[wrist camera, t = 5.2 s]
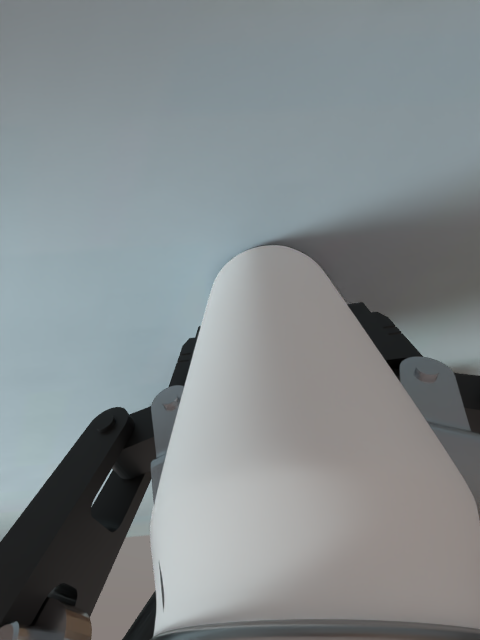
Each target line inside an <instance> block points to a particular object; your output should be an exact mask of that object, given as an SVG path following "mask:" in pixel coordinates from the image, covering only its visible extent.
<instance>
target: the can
mask: <svg viewBox="0 0 480 640" xmlns="http://www.w3.org/2000/svg"><path fill="white" fill-rule="evenodd" d="M150 540H151V552H152V561H153V570H154V577H155V587H156V619H155V628H154V635H153V638H152V639H150V640H480V520H479V515H478V510H477V506H476V502H475V499H474V496H473V495H472V493H471V491H470V489H469V487H468V485H467V484H466V482H465V480H464V478H463V477H462V475H461V474H460V472H459V470H458V469H457V467H456V466H455V464H454V463H453V461H452V459H451V458H450V456H449V455H448V453H447V452H446V450H445V449H444V447H443V446H442V444H441V443H440V441H439V440H438V438H437V437H436V435H435V434H434V432H433V431H432V429H431V428H430V426H429V424H428V423H427V421H426V420H425V418H424V417H423V415H422V414H421V412H420V411H419V409H418V408H417V406H416V405H415V403H414V402H413V400H412V399H411V397H410V396H409V395H408V393H407V392H406V390H405V389H404V387H403V386H402V384H401V383H400V381H399V380H398V378H397V377H396V375H395V374H394V372H393V371H392V370H391V368H390V367H389V365H388V364H387V362H386V361H385V359H384V358H383V356H382V355H381V353H380V352H379V350H378V349H377V348H376V346H375V345H374V343H373V342H372V340H371V339H370V337H369V336H368V334H367V333H366V331H365V330H364V328H363V327H362V326H361V324H360V323H359V321H358V320H357V318H356V317H355V315H354V314H353V312H352V311H351V310H350V308H349V307H348V305H347V304H346V302H345V301H344V299H343V298H342V297H341V295H340V294H339V292H338V291H337V289H336V288H335V286H334V285H333V284H332V282H331V281H330V279H329V278H328V276H327V275H326V274H325V272H324V271H323V270H322V268H321V267H320V266H319V265H318V264H317V263H316V262H315V261H314V260H313V259H311V258H310V257H309V256H307V255H305V254H304V253H302V252H300V251H297V250H295V249H292V248H289V247H285V246H279V245H267V246H260V247H255V248H252V249H249V250H247V251H244V252H242V253H240V254H239V255H237V256H235V257H234V258H233V259H231V260H230V261H229V262H228V263H227V264H226V265H225V266H224V267H223V268H222V269H221V271H220V272H219V274H218V275H217V277H216V279H215V281H214V283H213V286H212V289H211V292H210V295H209V299H208V302H207V306H206V309H205V313H204V317H203V320H202V324H201V327H200V331H199V335H198V338H197V342H196V345H195V349H194V353H193V356H192V360H191V364H190V367H189V371H188V375H187V378H186V382H185V386H184V389H183V393H182V397H181V401H180V404H179V408H178V412H177V415H176V419H175V423H174V426H173V430H172V434H171V438H170V441H169V445H168V449H167V453H166V457H165V462H164V466H163V469H162V474H161V478H160V482H159V486H158V490H157V494H156V499H155V504H154V505H153V510H152V516H151V522H150ZM159 563H160V568H161V573H162V580H163V587H164V612H163V603H162V591H161V580H160V569H159Z"/></svg>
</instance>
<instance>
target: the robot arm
mask: <svg viewBox="0 0 480 640" xmlns="http://www.w3.org/2000/svg"><path fill="white" fill-rule="evenodd" d="M347 305H348V307H349V308H350V310H351V311H352V312H353V314H354V315H355V317H356V318H357V320H358V321H359V323H360V324H361V326H362V327H363V328H364V330H365V331H366V333H367V334H368V336H369V337H370V339H371V340H372V342H373V343H374V345H375V346H376V348H377V349H378V350H379V352H380V353H381V355H382V356H383V358H384V359H385V361H386V362H387V364H388V365H389V367H390V368H391V370H392V371H393V372H394V374H395V375H396V377H397V378H398V380H399V381H400V383H401V384H402V386H403V387H404V389H405V390H406V392H407V393H408V395H409V396H410V397H411V399H412V400H413V402H414V403H415V405H416V406H417V408H418V409H419V411H420V412H421V414H422V415H423V417H424V418H425V420H426V421H427V423H428V424H429V426H430V428H431V429H432V431H433V432H434V434H435V435H436V437H437V438H438V440H439V441H440V443H441V444H442V446H443V447H444V449H445V450H446V452H447V453H448V455H449V456H450V458H451V459H452V461H453V463H454V464H455V466H456V467H457V469H458V470H459V472H460V474H461V475H462V477H463V478H464V480H465V482H466V484H467V485H468V487H469V489H470V491H471V493H472V495H473V496H474V499H475V502H476V506H477V510H478V515H479V520H480V376H476V375H467V374H458V373H453V371H452V370H451V369H450V368H449V367H448V366H446V365H445V364H443V363H442V362H440V361H437V360H435V359H431V358H427V357H423V356H422V355H421V354H420V353H419V352H418V350H417V349H416V348H415V347H414V346H413V345H412V344H411V343H410V341H409V340H408V339H407V338H406V337H405V336H404V335H403V334H401V331H400V330H399V329H398V328H397V327H395V325H394V324H393V322H392V321H391V320H390V319H389V318H388V317H386V316H384V315H382V314H380V313H378V312H372V313H371V312H370V311H369V310H368V308H367V307H366V306H365V305H364V303H362V302H360V303H354V304H347ZM200 327H201V326H199V327H198V330H197V334H196V337H195V338H189V339H188V341H187V342H186V343H185V344H184V345H183V347H182V350H181V352H180V356H179V358H178V363H177V364H176V367H175V370H174V373H173V376H172V379H171V382H170V385H169V387H168V388H166V389H164V390H163V391H161V392H160V393H159V394H158V395H157V396H156V397H155V398H154V400H153V402H152V405H151V406H150V407H148V408H145V409H143V410H140V411H138V412H135V413H132V414H130V415H129V414H128V412H127V411H126V410H125V409H124V408H121V407H115V408H111V409H108V410H106V411H104V412H102V413H101V414H99V415H98V416H97V417H96V418H95V419H94V420H93V421H92V422H91V423H90V424H89V426H88V427H87V428H86V430H85V431H84V432H83V434H82V435H81V436H80V438H79V439H78V440H77V442H76V443H75V444H74V446H73V447H72V448H71V450H70V451H69V452H68V454H67V455H66V456H65V457H64V459H63V460H62V461H61V463H60V464H59V465H58V467H57V468H56V469H55V471H54V472H53V473H52V475H51V476H50V477H49V479H48V480H47V481H46V483H45V484H44V485H43V487H42V488H41V489H40V491H39V492H38V493H37V495H36V496H35V497H34V498H33V500H32V501H31V502H30V504H29V505H28V506H27V508H26V509H25V510H24V512H23V513H22V514H21V516H20V517H19V518H18V520H17V521H16V522H15V524H14V525H13V526H12V528H11V529H10V530H9V532H8V533H7V534H6V536H5V537H4V538H3V539H2V541H1V542H0V640H91V633H92V628H91V622H90V616H91V613H92V611H93V609H94V607H95V604H96V602H97V600H98V598H99V595H100V593H101V591H102V589H103V586H104V584H105V582H106V580H107V577H108V575H109V573H110V571H111V568H112V566H113V564H114V562H115V559H116V557H117V555H118V553H119V550H120V548H121V546H122V544H123V541H124V539H125V537H126V535H127V532H128V530H129V528H130V526H131V523H132V521H133V519H134V517H135V514H136V512H137V510H138V508H139V506H140V503H141V501H142V499H143V497H144V494H145V492H146V490H147V488H148V485H149V483H150V481H151V479H152V489H153V501H154V504H155V499H156V494H157V490H158V486H159V482H160V478H161V474H162V469H163V466H164V462H165V457H166V453H167V449H168V445H169V441H170V438H171V434H172V430H173V426H174V423H175V419H176V415H177V412H178V408H179V404H180V401H181V397H182V393H183V389H184V386H185V382H186V378H187V375H188V371H189V367H190V364H191V360H192V356H193V353H194V349H195V345H196V342H197V338H198V335H199V331H200ZM111 469H113V471H112V473H111V474H110V476H109V478H108V480H107V481H106V483H105V485H104V487H103V488H102V490H101V492H100V494H99V495H98V497H97V499H96V500H95V502H94V504H93V506H92V502H93V500H94V498H95V496H96V494H97V493H98V491H99V489H100V488H101V486H102V484H103V482H104V481H105V479H106V477H107V476H108V474H109V472H110V470H111ZM91 506H92V507H91ZM159 569H160V580H161V591H162V603H163V612H164V587H163V580H162V573H161V568H160V563H159ZM155 619H156V590H155V592H154V593H153V595H152V596H151V598H150V599H149V601H148V602H147V604H146V605H145V607H144V608H143V610H142V611H141V613H140V614H139V616H138V617H137V619H136V620H135V622H134V623H133V625H132V626H131V628H130V629H129V630H128V632H127V633H126V635H125V637H124V638H123V639H122V640H150V639H152V638H153V635H154V628H155Z"/></svg>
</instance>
